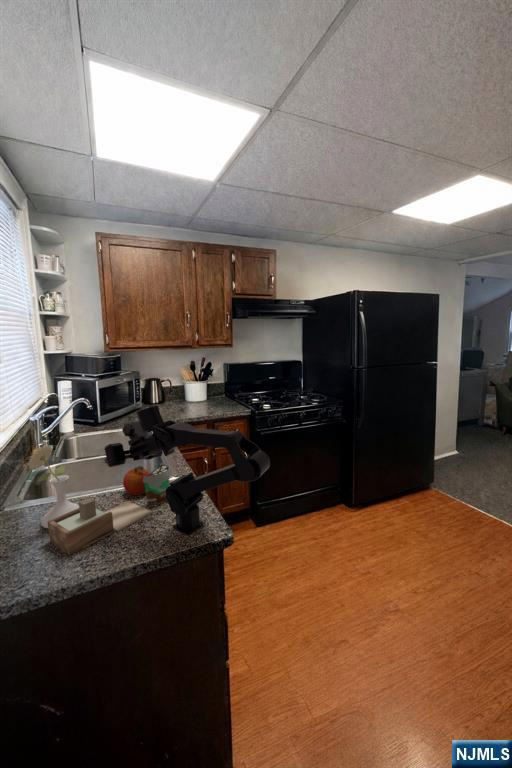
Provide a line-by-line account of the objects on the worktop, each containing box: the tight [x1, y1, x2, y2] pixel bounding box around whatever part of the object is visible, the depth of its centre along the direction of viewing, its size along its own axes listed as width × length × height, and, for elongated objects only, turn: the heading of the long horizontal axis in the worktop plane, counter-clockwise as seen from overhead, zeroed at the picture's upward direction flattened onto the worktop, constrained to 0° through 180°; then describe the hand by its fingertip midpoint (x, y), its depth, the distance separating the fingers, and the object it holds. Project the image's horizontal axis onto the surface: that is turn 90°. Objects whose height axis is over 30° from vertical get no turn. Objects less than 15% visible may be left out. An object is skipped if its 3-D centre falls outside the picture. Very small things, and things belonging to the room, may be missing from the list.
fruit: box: [122, 465, 151, 496], centre depth 114 cm, size 10×10×10 cm
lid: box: [58, 497, 106, 531], centre depth 88 cm, size 8×10×5 cm
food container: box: [143, 463, 172, 505], centre depth 109 cm, size 12×6×10 cm, turn 168°
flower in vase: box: [27, 444, 79, 529], centre depth 94 cm, size 13×11×25 cm
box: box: [47, 508, 115, 556], centre depth 88 cm, size 11×12×6 cm
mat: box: [103, 500, 153, 532], centre depth 98 cm, size 13×12×1 cm
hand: (118, 458), depth 100 cm, fingers open, 9 cm apart
